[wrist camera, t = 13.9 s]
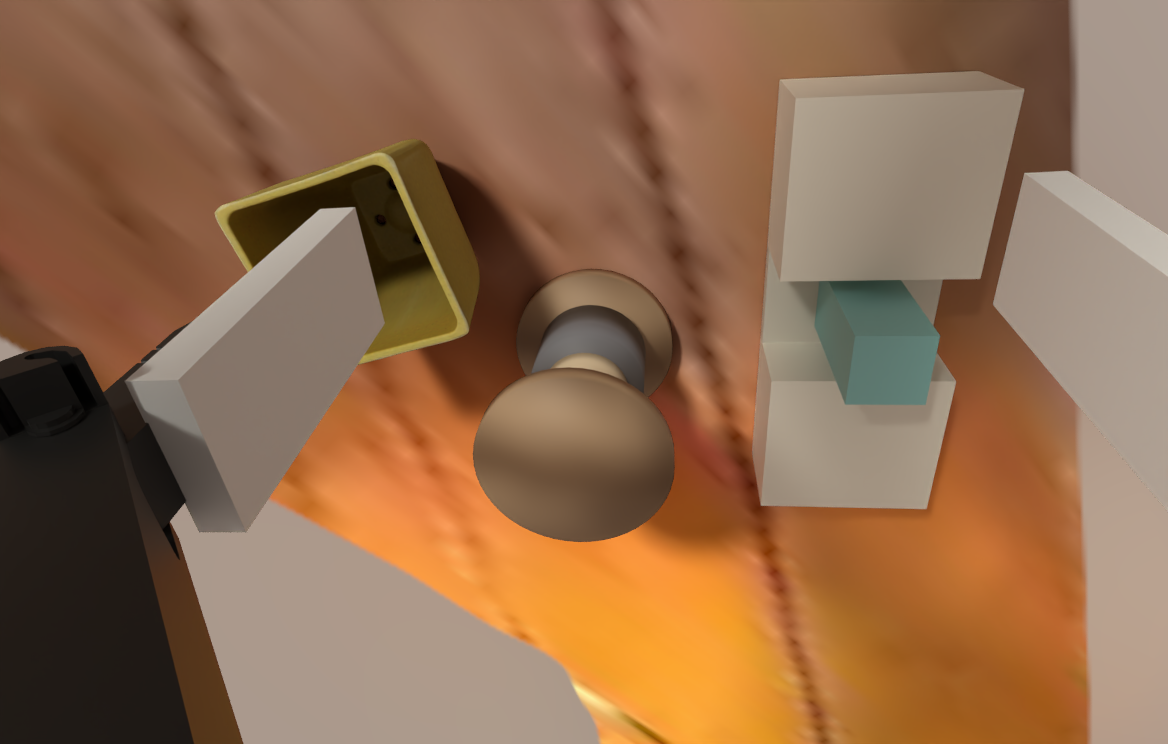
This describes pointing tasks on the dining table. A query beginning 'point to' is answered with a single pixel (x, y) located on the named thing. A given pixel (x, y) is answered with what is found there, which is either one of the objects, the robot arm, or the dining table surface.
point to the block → (876, 341)
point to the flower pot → (379, 239)
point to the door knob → (582, 412)
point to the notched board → (869, 267)
